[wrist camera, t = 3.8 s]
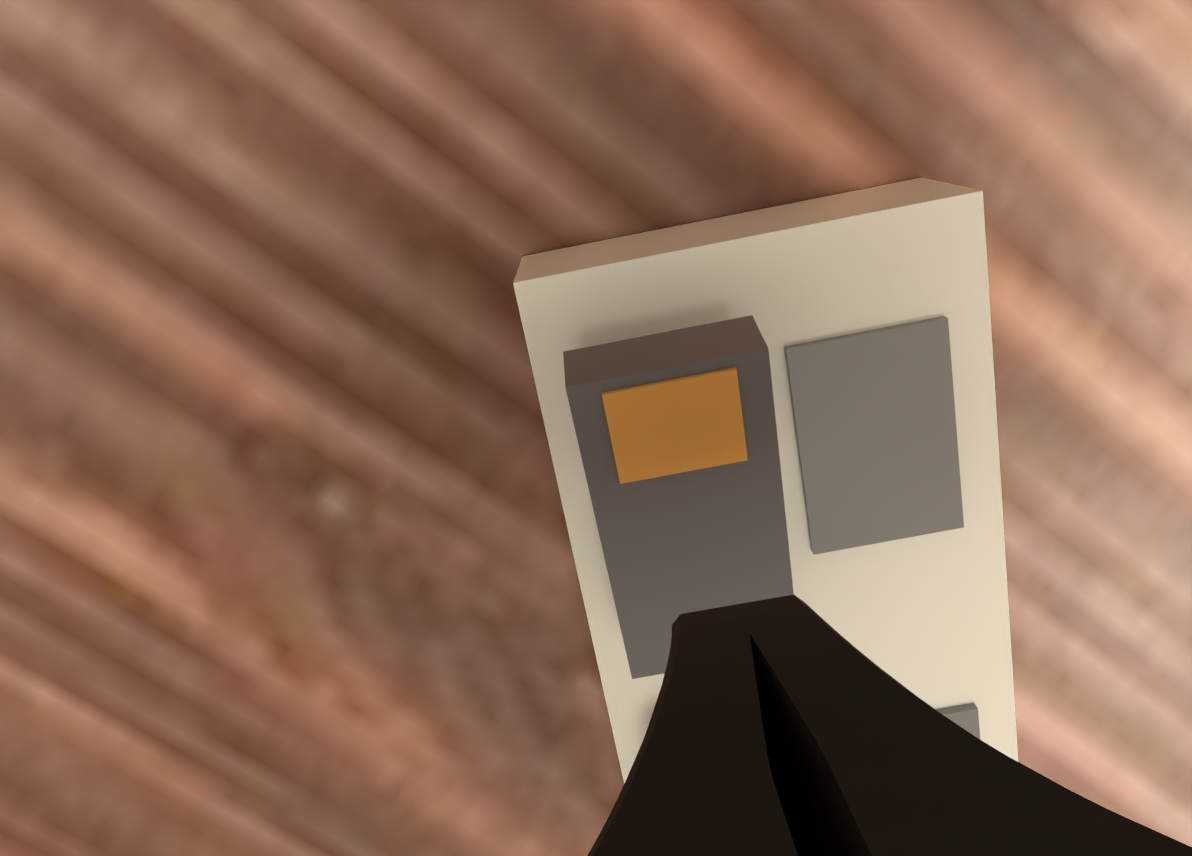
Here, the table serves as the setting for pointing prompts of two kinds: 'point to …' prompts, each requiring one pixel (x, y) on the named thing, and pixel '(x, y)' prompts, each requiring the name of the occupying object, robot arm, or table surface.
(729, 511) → the block
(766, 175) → the table surface
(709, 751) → the robot arm
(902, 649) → the power strip
